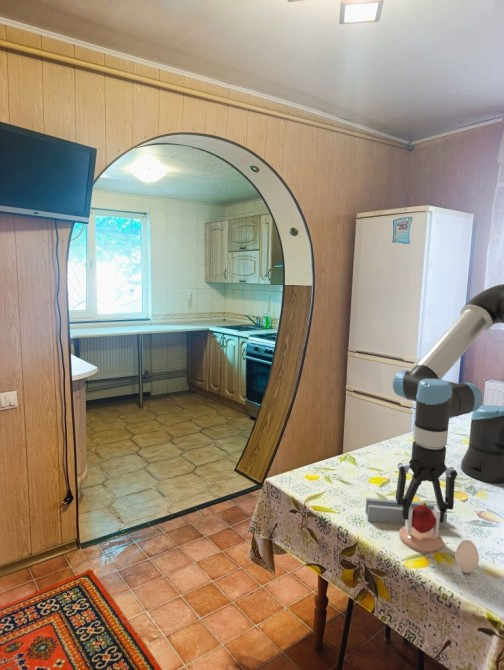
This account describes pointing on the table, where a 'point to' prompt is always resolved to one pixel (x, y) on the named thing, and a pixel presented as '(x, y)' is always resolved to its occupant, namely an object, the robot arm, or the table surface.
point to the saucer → (421, 540)
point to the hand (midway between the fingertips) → (421, 531)
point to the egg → (467, 556)
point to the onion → (423, 518)
